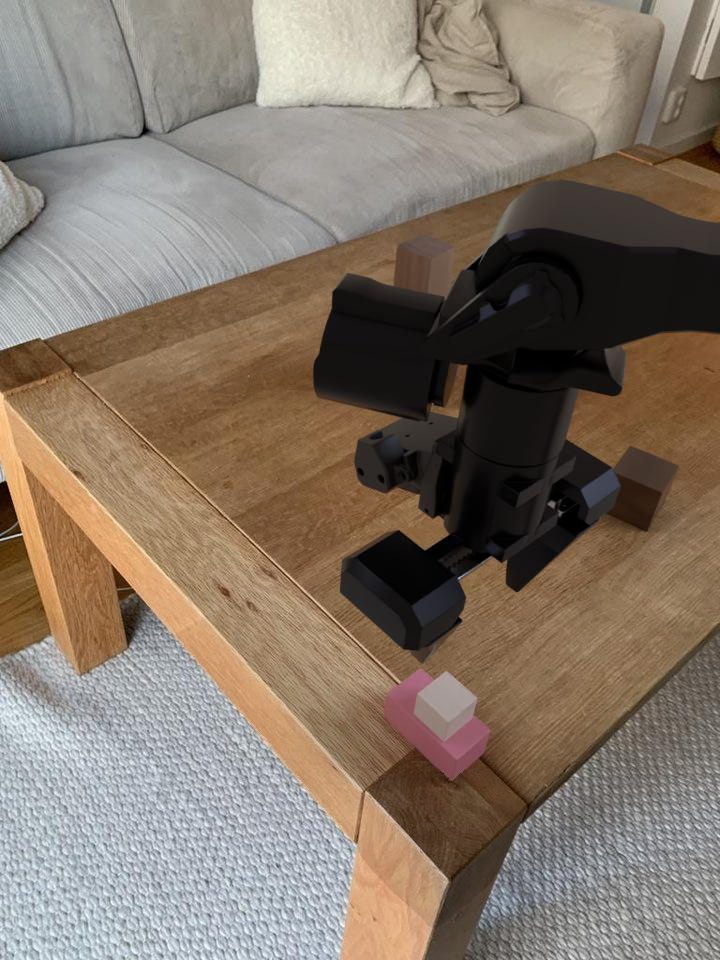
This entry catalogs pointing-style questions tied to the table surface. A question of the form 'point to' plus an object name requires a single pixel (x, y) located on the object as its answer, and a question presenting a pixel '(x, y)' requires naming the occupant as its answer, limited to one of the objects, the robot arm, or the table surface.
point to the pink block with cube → (438, 720)
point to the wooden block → (425, 266)
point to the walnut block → (642, 487)
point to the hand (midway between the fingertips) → (467, 621)
